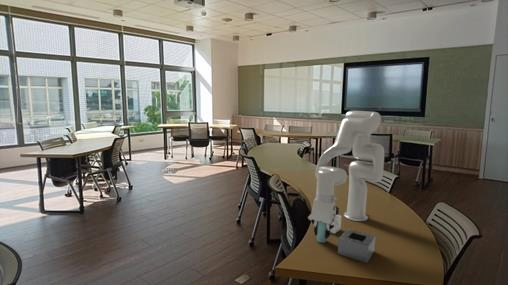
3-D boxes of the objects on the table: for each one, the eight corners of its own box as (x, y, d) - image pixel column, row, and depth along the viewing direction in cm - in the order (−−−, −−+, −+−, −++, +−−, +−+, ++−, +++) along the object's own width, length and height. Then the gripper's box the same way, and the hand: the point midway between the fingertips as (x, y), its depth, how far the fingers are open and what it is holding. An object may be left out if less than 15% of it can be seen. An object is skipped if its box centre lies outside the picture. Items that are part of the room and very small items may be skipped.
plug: (318, 237, 144) (320, 217, 142) (327, 240, 141) (329, 219, 140) (315, 240, 140) (316, 219, 139) (324, 243, 138) (325, 222, 136)
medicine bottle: (327, 225, 158) (329, 203, 157) (340, 229, 154) (342, 206, 152) (320, 229, 153) (322, 206, 151) (334, 234, 148) (336, 210, 147)
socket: (346, 243, 139) (347, 228, 138) (374, 251, 132) (375, 236, 131) (337, 253, 129) (338, 237, 128) (367, 263, 123) (368, 246, 122)
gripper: (345, 199, 136) (342, 238, 139) (310, 191, 145) (308, 228, 148) (340, 203, 130) (337, 244, 133) (303, 195, 139) (301, 233, 142)
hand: (321, 235), depth 140 cm, fingers closed on plug, 4 cm apart
